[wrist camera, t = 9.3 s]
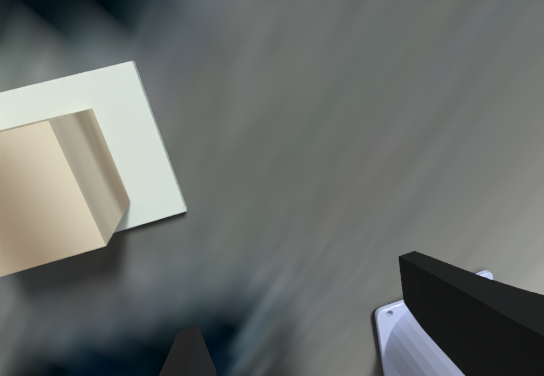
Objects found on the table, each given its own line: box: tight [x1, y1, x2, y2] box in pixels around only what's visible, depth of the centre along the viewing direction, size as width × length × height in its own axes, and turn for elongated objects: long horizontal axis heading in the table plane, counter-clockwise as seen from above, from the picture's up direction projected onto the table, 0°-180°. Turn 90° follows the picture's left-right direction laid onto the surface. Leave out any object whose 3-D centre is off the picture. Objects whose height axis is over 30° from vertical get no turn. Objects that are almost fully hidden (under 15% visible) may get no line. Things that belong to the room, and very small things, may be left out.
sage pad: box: [0, 61, 187, 233], centre depth 17 cm, size 10×8×1 cm
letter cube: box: [0, 108, 130, 277], centre depth 14 cm, size 5×5×5 cm
